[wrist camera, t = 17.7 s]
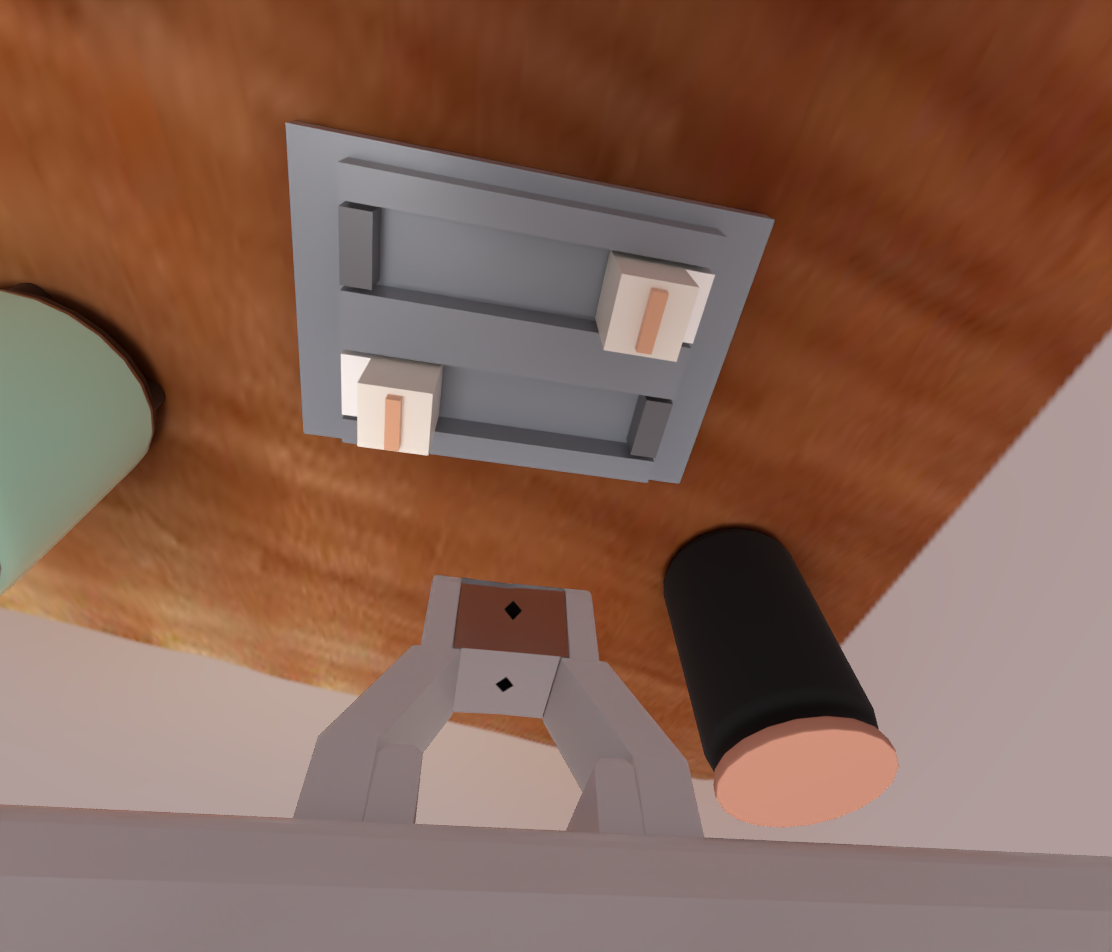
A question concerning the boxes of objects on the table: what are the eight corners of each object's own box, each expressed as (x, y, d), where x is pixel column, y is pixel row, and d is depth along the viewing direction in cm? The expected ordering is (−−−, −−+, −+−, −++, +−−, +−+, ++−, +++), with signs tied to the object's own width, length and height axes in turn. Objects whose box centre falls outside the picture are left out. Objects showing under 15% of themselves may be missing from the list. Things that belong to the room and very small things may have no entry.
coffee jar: (671, 626, 53) (725, 840, 39) (649, 538, 48) (704, 751, 33) (791, 600, 52) (896, 811, 37) (784, 507, 46) (905, 713, 31)
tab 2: (610, 248, 33) (623, 277, 29) (679, 261, 34) (702, 291, 29) (594, 317, 35) (604, 354, 31) (659, 328, 36) (678, 366, 31)
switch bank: (295, 120, 31) (270, 125, 28) (766, 214, 34) (787, 227, 31) (310, 422, 41) (293, 449, 38) (675, 472, 44) (685, 500, 41)
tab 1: (377, 347, 36) (354, 387, 31) (443, 357, 36) (431, 399, 32) (376, 405, 38) (354, 451, 34) (439, 414, 39) (426, 461, 34)
